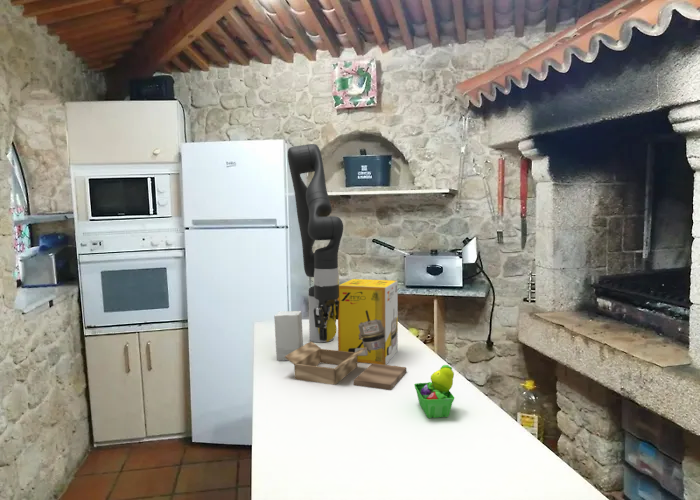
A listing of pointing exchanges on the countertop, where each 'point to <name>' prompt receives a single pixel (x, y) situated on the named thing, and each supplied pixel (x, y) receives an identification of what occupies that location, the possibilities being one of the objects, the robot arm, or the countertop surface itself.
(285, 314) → the skincare box
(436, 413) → the fruit basket
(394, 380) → the walnut board
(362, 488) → the countertop surface
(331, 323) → the lemon
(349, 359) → the carton
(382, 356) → the packaging box
